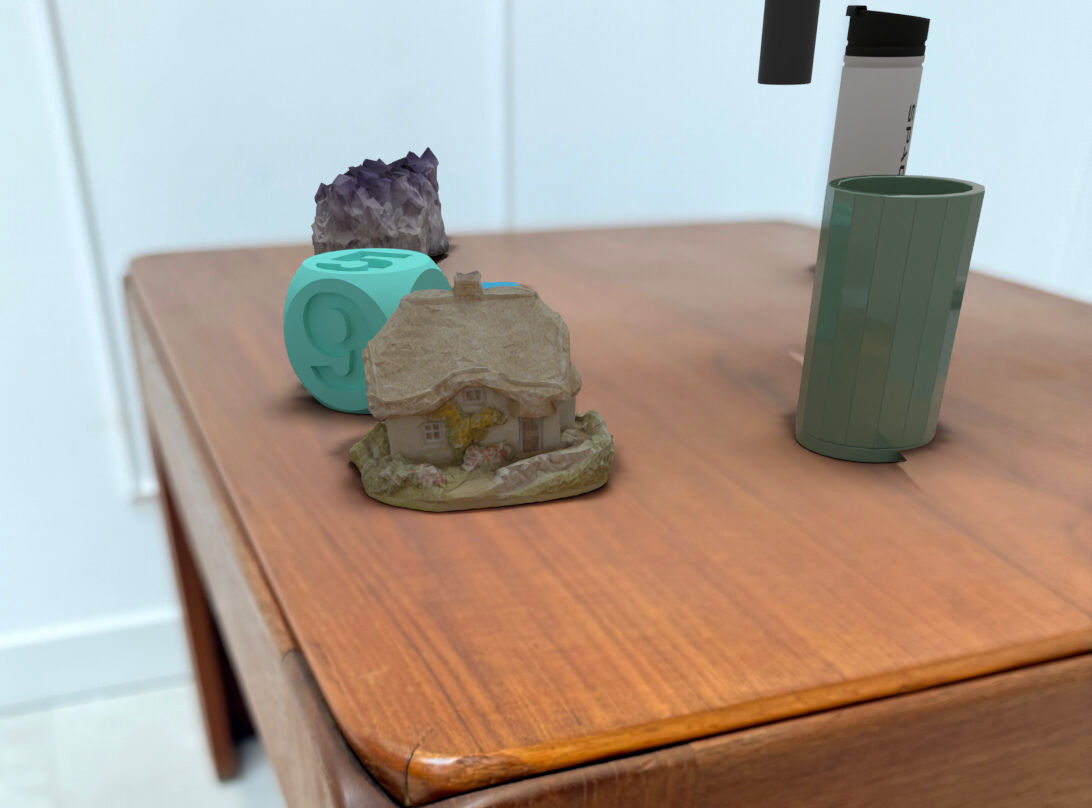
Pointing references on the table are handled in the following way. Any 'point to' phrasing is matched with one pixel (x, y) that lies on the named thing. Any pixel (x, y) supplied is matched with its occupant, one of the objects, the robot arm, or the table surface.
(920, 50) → the travel mug
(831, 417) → the green pencil cup
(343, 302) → the decorative dice
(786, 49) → the marker
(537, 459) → the ceramic model
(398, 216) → the geode
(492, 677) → the table surface
